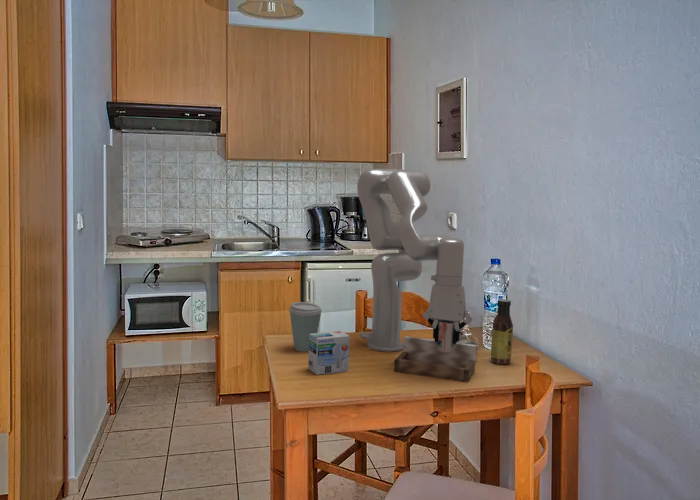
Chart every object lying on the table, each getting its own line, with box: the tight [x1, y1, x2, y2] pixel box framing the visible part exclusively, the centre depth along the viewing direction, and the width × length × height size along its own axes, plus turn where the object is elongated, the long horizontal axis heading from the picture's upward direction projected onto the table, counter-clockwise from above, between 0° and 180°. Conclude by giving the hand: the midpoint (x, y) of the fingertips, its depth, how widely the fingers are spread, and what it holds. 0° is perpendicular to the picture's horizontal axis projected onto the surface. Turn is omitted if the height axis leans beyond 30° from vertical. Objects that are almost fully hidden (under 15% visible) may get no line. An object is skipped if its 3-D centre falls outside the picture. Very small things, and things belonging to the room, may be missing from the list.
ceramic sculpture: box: [457, 331, 478, 354], centre depth 204 cm, size 11×9×15 cm
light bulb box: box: [307, 330, 351, 376], centre depth 186 cm, size 11×7×11 cm, turn 117°
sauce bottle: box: [490, 298, 514, 365], centre depth 199 cm, size 7×6×20 cm
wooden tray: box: [393, 335, 477, 382], centre depth 189 cm, size 22×11×8 cm, turn 70°
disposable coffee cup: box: [288, 301, 323, 353], centre depth 206 cm, size 11×11×15 cm
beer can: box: [437, 320, 455, 353], centre depth 185 cm, size 5×5×12 cm
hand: (445, 341), depth 186 cm, fingers closed on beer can, 4 cm apart
